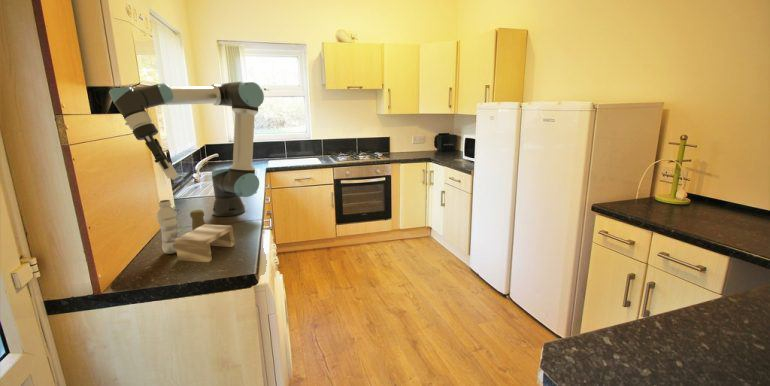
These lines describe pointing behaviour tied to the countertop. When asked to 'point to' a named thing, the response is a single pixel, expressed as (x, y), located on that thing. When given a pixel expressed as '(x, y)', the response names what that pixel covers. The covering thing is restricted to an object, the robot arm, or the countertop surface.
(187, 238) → the birch shelf
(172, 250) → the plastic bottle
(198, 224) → the cork
